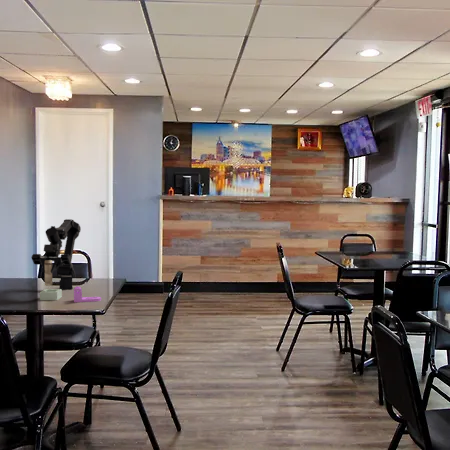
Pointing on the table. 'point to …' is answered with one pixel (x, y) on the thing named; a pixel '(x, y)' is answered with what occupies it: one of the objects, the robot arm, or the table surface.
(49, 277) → the beige cylinder
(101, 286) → the table surface
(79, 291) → the bracket
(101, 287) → the table surface
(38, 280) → the table surface
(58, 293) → the square frame
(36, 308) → the table surface
